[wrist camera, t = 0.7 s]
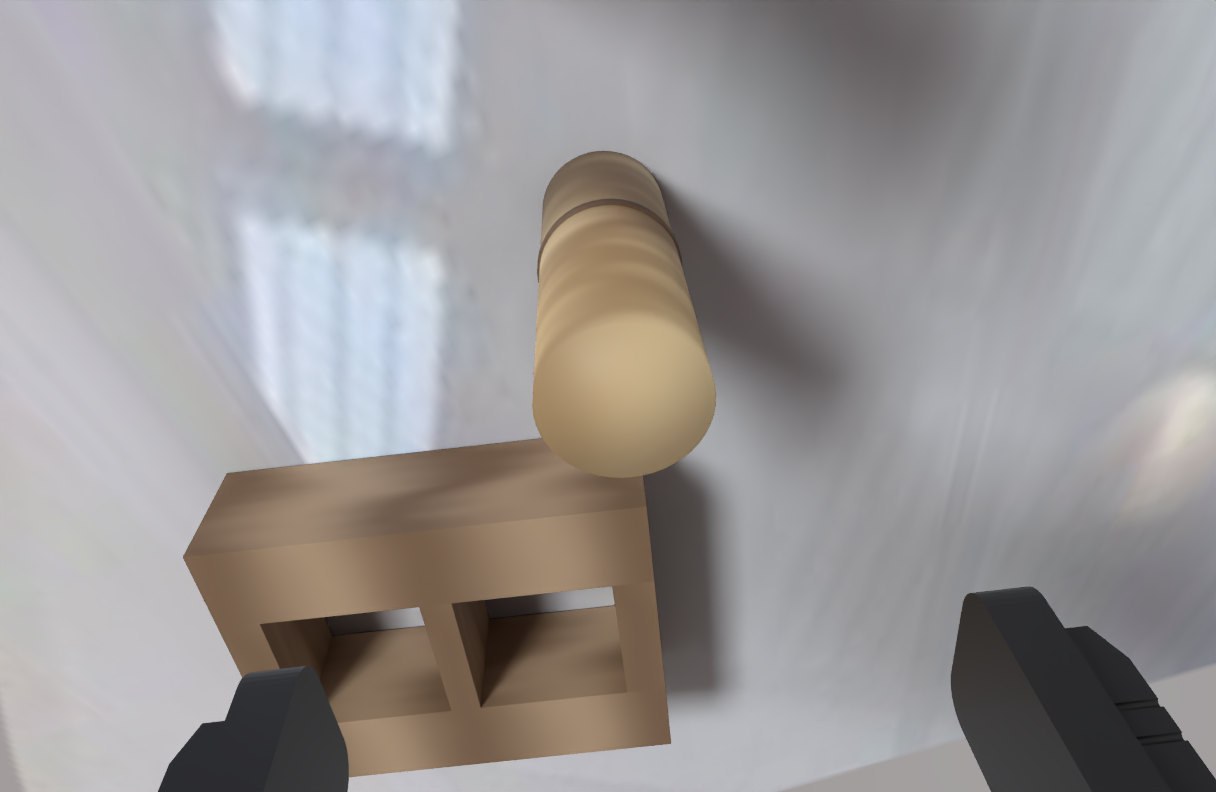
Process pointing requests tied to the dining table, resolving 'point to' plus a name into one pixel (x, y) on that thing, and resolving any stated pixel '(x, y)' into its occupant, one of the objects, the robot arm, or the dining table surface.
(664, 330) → the peg
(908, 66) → the dining table surface
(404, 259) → the dining table surface
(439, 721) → the board
